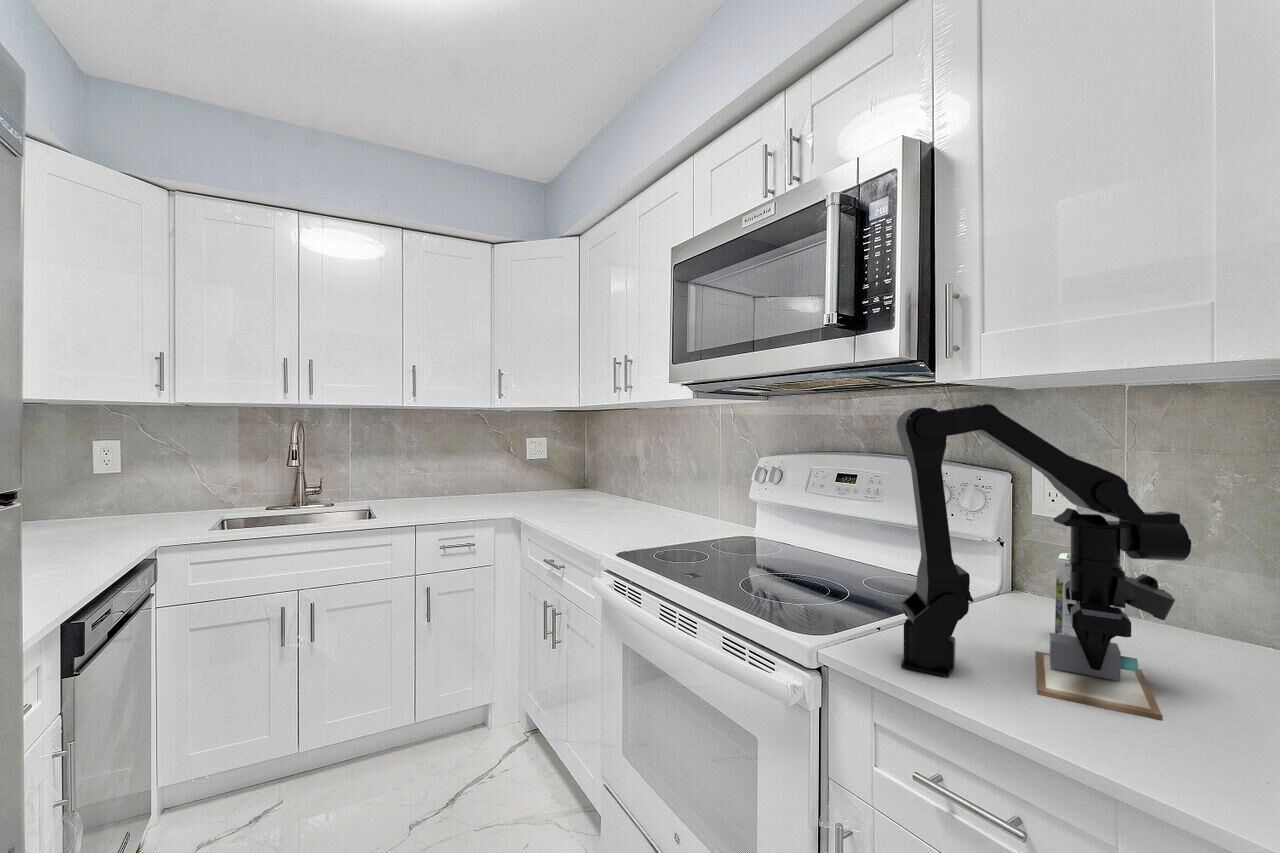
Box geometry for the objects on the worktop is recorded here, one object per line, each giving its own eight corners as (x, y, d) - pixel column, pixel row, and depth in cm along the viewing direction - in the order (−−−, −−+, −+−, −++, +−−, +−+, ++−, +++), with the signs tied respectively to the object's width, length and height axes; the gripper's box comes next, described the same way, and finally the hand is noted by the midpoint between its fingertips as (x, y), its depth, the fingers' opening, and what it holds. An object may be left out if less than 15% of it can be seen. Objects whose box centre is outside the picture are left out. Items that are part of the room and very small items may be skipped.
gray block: (1050, 667, 87) (1050, 640, 86) (1049, 658, 90) (1049, 632, 90) (1138, 684, 81) (1139, 655, 81) (1134, 674, 84) (1134, 646, 84)
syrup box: (1057, 634, 103) (1057, 551, 103) (1100, 641, 100) (1100, 556, 99) (1054, 643, 99) (1054, 557, 99) (1099, 652, 95) (1099, 563, 95)
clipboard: (1037, 694, 81) (1037, 682, 81) (1035, 654, 94) (1035, 644, 94) (1162, 720, 74) (1162, 707, 74) (1141, 673, 87) (1141, 663, 87)
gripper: (1184, 580, 73) (1183, 705, 73) (1156, 551, 89) (1155, 654, 89) (1073, 567, 79) (1072, 683, 79) (1064, 543, 95) (1064, 639, 95)
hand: (1094, 664), depth 85 cm, fingers closed on gray block, 4 cm apart
